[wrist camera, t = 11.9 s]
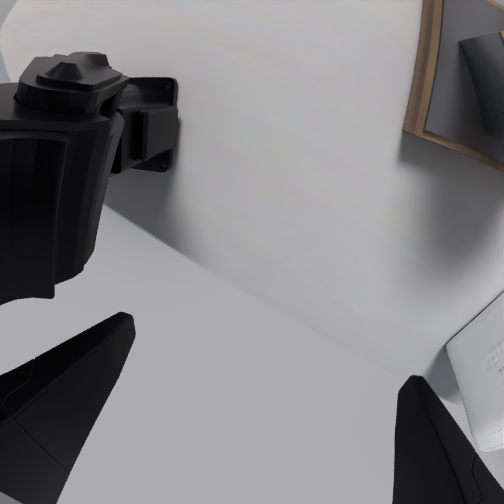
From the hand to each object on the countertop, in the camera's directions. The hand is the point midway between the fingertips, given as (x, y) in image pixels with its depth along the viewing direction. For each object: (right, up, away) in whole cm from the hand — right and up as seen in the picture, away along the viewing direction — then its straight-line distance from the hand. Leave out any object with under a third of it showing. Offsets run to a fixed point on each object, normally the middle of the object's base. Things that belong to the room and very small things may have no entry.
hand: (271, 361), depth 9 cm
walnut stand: (+15, +14, +4) cm, 21 cm away
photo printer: (+21, -3, +13) cm, 25 cm away
